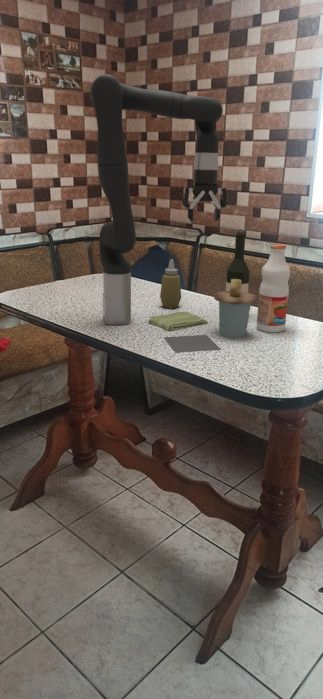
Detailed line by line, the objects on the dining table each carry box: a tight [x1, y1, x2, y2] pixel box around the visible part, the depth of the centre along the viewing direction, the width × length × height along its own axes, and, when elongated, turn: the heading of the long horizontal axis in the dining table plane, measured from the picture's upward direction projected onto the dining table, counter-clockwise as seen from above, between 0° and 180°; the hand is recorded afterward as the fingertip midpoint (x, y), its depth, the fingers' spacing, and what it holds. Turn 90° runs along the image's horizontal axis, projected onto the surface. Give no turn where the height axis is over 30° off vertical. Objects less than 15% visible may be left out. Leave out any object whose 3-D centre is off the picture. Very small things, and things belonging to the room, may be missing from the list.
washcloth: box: [147, 310, 209, 332], centre depth 179 cm, size 13×18×3 cm
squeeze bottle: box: [159, 258, 182, 309], centre depth 197 cm, size 8×8×18 cm
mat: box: [163, 334, 222, 354], centre depth 159 cm, size 14×14×1 cm
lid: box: [213, 279, 257, 304], centre depth 164 cm, size 13×13×6 cm
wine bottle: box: [225, 230, 250, 293], centre depth 185 cm, size 8×8×30 cm
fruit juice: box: [256, 243, 291, 334], centre depth 171 cm, size 9×9×28 cm
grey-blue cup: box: [218, 301, 252, 339], centre depth 167 cm, size 10×10×12 cm
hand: (203, 220), depth 172 cm, fingers open, 8 cm apart
